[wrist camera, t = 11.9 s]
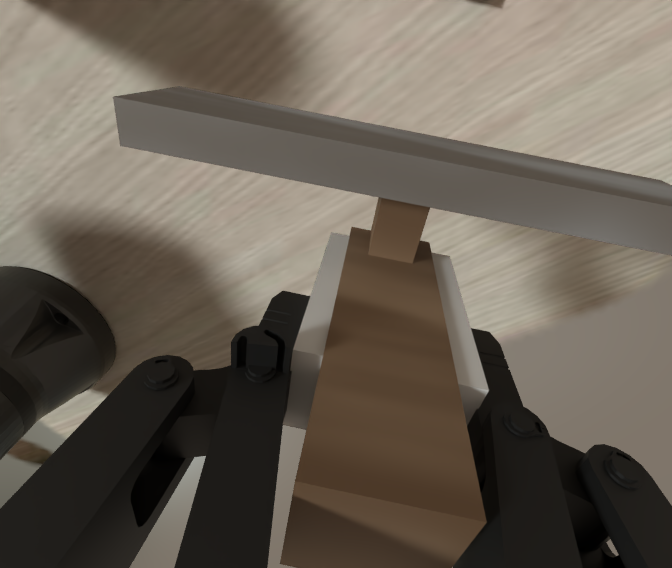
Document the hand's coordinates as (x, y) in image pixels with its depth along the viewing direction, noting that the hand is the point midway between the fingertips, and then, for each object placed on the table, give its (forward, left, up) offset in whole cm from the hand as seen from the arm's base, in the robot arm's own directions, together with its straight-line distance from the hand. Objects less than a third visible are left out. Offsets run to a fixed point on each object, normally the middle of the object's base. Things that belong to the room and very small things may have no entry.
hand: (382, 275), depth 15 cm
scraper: (+2, 0, -1) cm, 2 cm away
